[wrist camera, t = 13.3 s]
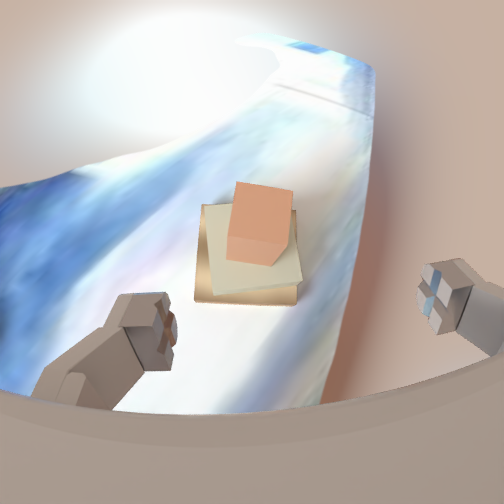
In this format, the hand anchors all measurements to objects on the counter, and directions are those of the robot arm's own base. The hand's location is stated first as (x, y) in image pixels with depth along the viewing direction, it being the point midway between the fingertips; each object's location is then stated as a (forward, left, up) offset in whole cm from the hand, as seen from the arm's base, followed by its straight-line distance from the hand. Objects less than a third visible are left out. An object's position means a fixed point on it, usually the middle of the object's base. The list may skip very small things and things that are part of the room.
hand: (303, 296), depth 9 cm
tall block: (+8, -1, -20) cm, 22 cm away
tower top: (+8, -1, -23) cm, 25 cm away
